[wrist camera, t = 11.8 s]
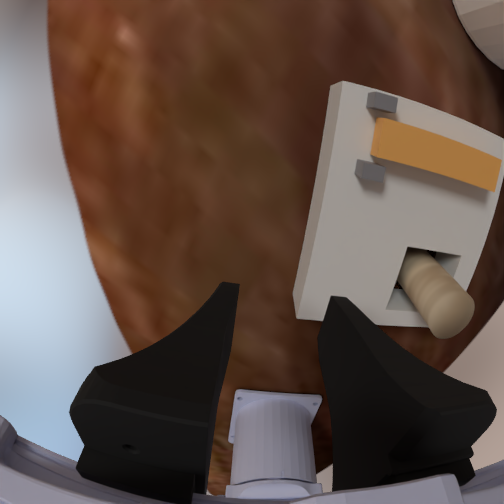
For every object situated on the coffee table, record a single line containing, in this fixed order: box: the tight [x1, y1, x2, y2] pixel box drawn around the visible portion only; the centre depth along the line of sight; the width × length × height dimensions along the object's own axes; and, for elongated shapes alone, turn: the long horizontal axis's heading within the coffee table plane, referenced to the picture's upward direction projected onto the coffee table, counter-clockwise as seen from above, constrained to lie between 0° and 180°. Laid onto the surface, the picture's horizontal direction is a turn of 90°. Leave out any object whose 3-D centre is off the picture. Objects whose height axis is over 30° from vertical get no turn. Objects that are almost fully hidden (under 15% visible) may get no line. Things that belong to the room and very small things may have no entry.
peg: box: [397, 247, 474, 339], centre depth 18 cm, size 3×3×7 cm
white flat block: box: [293, 81, 504, 327], centre depth 17 cm, size 14×12×4 cm
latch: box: [370, 117, 502, 192], centre depth 14 cm, size 2×8×1 cm, turn 83°
